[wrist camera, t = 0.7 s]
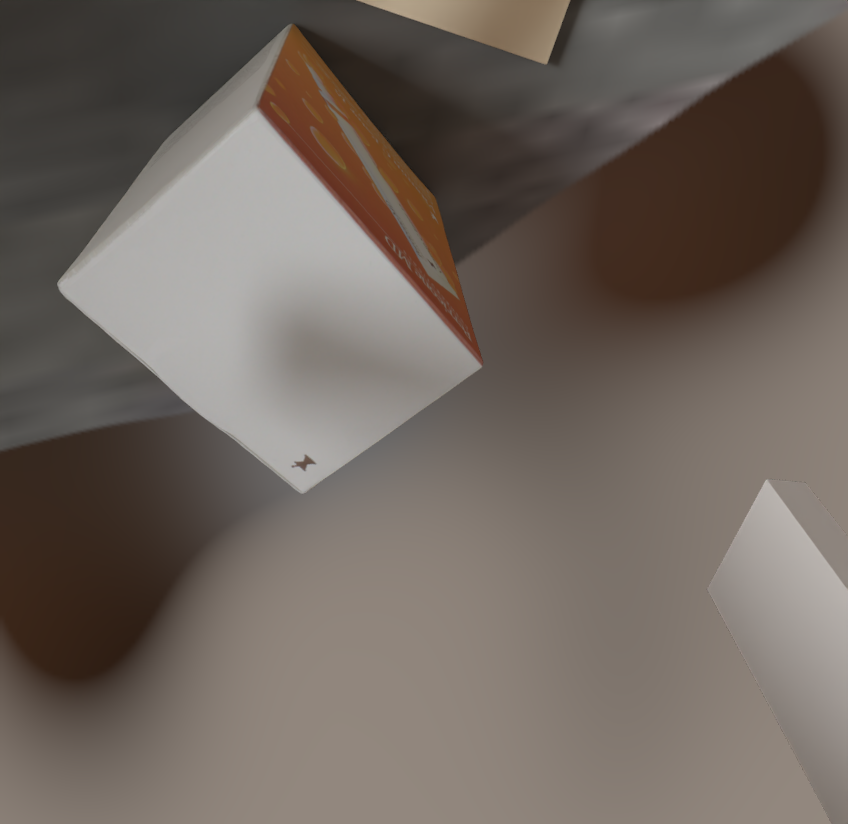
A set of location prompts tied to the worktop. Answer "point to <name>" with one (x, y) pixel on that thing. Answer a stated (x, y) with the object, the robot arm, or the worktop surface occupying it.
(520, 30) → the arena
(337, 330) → the small box
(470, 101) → the worktop surface
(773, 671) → the robot arm
